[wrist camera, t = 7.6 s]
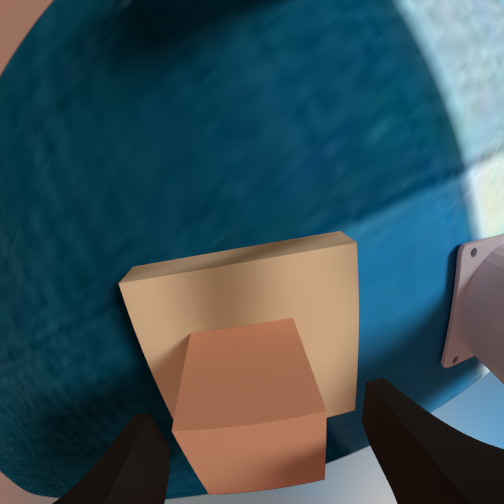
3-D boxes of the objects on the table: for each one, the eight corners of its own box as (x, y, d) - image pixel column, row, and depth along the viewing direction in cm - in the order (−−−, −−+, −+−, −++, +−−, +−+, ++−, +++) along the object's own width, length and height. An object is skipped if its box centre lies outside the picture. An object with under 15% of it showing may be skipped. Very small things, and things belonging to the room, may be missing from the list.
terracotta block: (292, 317, 12) (326, 411, 7) (299, 390, 13) (324, 479, 8) (190, 333, 11) (171, 430, 7) (213, 403, 13) (209, 494, 8)
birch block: (335, 227, 13) (356, 242, 11) (341, 381, 16) (354, 410, 13) (137, 262, 13) (118, 283, 11) (187, 406, 16) (182, 437, 13)
